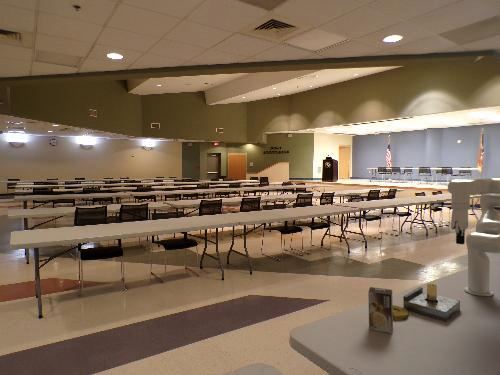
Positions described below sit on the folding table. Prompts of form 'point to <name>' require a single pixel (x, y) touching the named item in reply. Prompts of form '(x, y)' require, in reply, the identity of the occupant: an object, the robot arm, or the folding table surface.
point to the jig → (430, 305)
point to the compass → (399, 313)
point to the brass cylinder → (431, 293)
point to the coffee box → (380, 309)
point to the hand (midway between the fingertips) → (460, 243)
